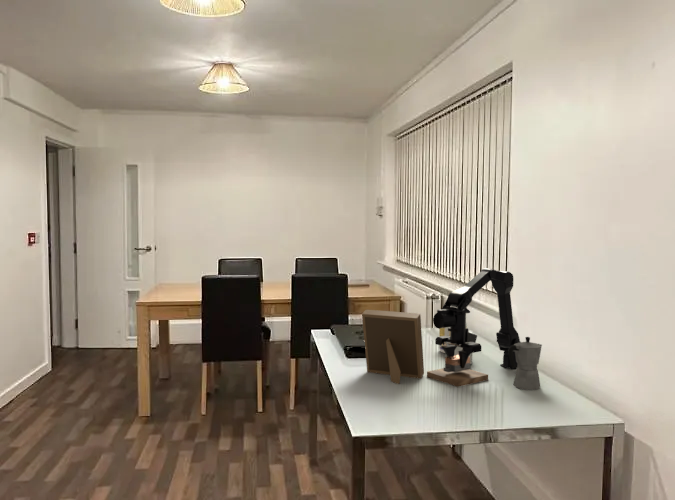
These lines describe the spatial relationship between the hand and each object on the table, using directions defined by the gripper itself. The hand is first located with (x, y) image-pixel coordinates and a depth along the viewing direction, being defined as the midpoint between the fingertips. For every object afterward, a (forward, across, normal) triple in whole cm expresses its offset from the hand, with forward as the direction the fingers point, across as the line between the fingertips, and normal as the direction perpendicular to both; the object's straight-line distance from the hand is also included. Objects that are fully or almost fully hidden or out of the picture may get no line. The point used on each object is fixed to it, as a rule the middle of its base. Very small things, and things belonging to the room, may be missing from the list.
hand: (457, 366), depth 219 cm
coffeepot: (+5, -21, -12) cm, 25 cm away
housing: (+1, 0, 0) cm, 1 cm away
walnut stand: (+4, 0, 0) cm, 5 cm away
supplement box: (+5, +17, -21) cm, 27 cm away
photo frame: (+5, +15, +20) cm, 25 cm away
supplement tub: (+5, +32, -30) cm, 44 cm away
